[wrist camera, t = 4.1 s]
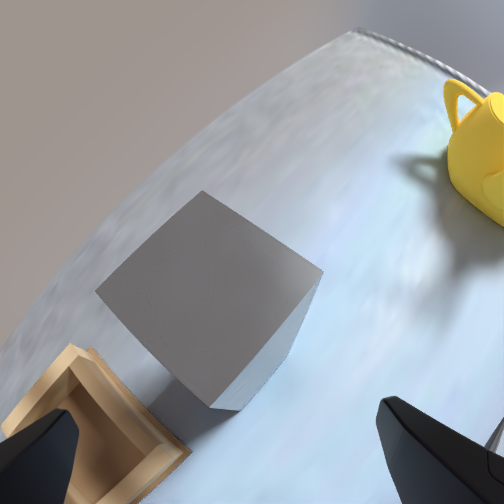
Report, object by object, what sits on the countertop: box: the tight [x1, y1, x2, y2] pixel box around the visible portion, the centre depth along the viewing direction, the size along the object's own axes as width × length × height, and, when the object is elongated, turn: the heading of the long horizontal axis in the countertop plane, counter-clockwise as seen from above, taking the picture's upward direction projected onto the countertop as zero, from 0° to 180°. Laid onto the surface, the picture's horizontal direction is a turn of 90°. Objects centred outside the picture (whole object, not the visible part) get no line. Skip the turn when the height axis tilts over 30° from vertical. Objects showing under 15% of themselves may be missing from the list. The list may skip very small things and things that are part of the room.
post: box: [95, 191, 324, 411], centre depth 13 cm, size 4×4×12 cm
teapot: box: [444, 79, 504, 227], centre depth 22 cm, size 22×16×11 cm
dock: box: [1, 344, 192, 504], centre depth 14 cm, size 10×10×3 cm
